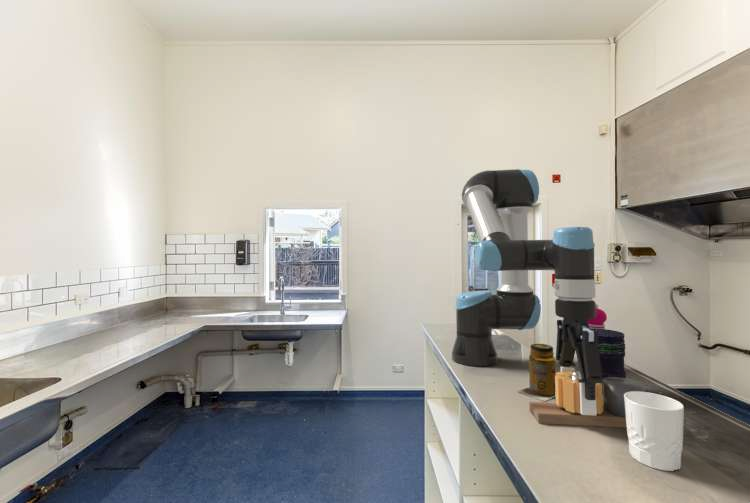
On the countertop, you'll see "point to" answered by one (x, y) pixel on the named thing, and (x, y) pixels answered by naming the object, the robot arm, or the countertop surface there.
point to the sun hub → (618, 393)
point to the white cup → (654, 429)
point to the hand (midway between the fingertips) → (577, 404)
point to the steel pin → (576, 375)
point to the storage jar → (611, 353)
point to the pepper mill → (598, 320)
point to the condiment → (541, 372)
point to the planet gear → (573, 393)
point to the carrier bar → (572, 416)
